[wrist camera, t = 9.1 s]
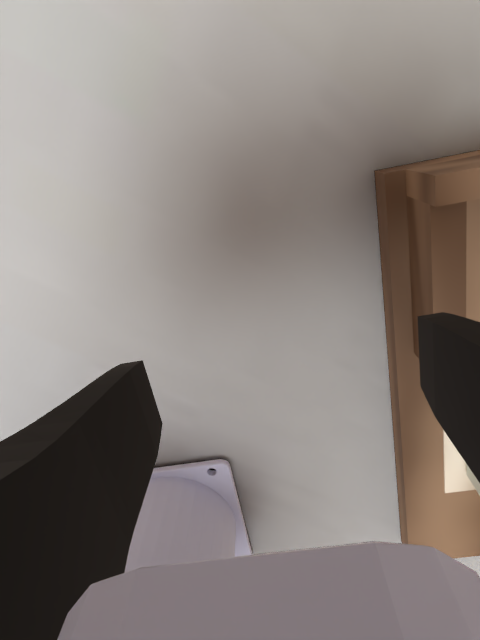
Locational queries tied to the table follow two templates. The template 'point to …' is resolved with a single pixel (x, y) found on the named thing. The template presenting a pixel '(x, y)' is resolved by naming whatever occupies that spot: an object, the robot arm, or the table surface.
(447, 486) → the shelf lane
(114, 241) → the table surface
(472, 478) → the block
